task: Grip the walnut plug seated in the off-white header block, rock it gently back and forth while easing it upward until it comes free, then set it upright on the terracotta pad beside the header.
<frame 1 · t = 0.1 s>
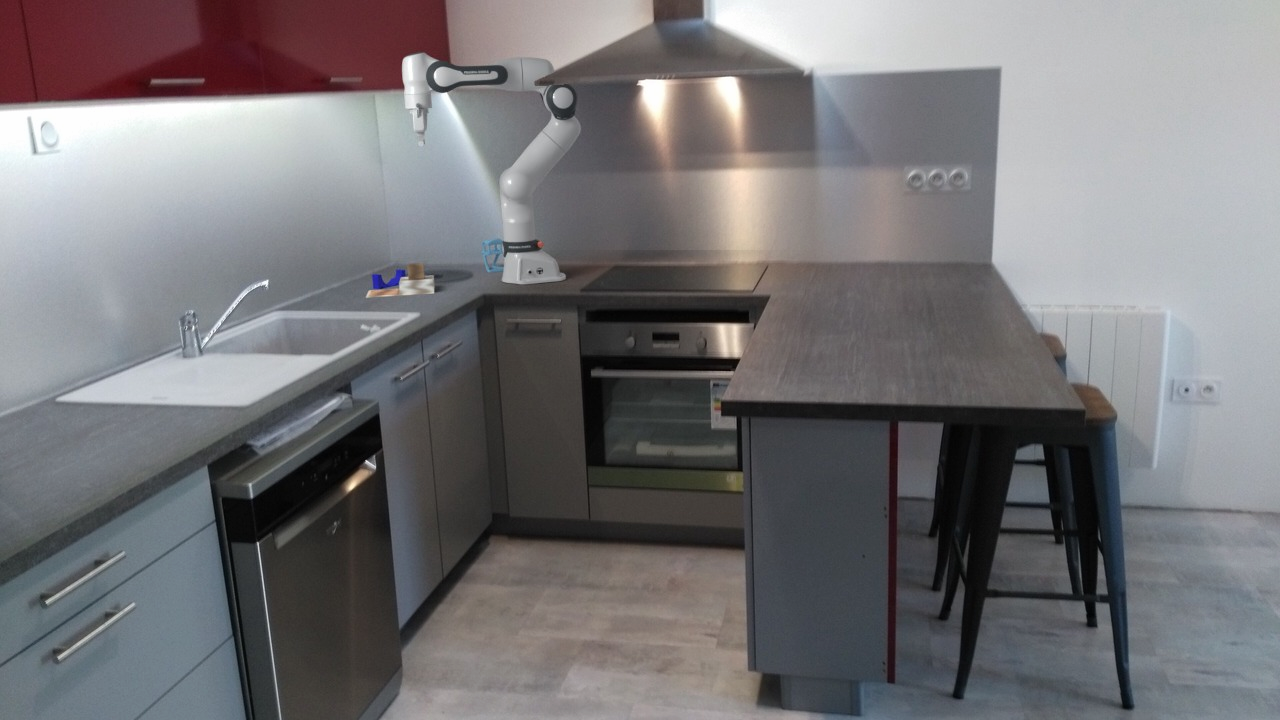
hand: (421, 145, 357), 48 cm above the worktop, fingers open, 8 cm apart
chair: (494, 270, 398), on the worktop
cable clip: (388, 289, 367), on the worktop
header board: (401, 294, 355), on the worktop
plug: (417, 290, 356), point 1 cm above the worktop, touching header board
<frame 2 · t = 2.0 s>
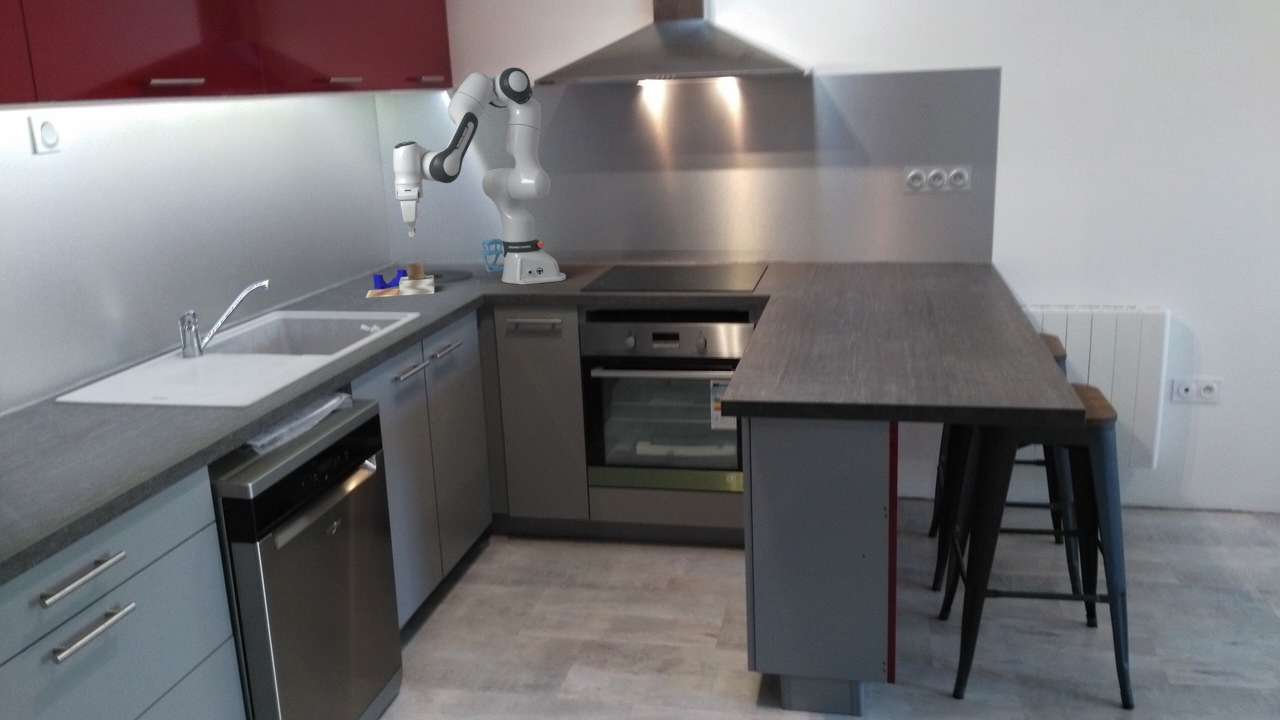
hand: (412, 234, 351), 20 cm above the worktop, fingers open, 8 cm apart
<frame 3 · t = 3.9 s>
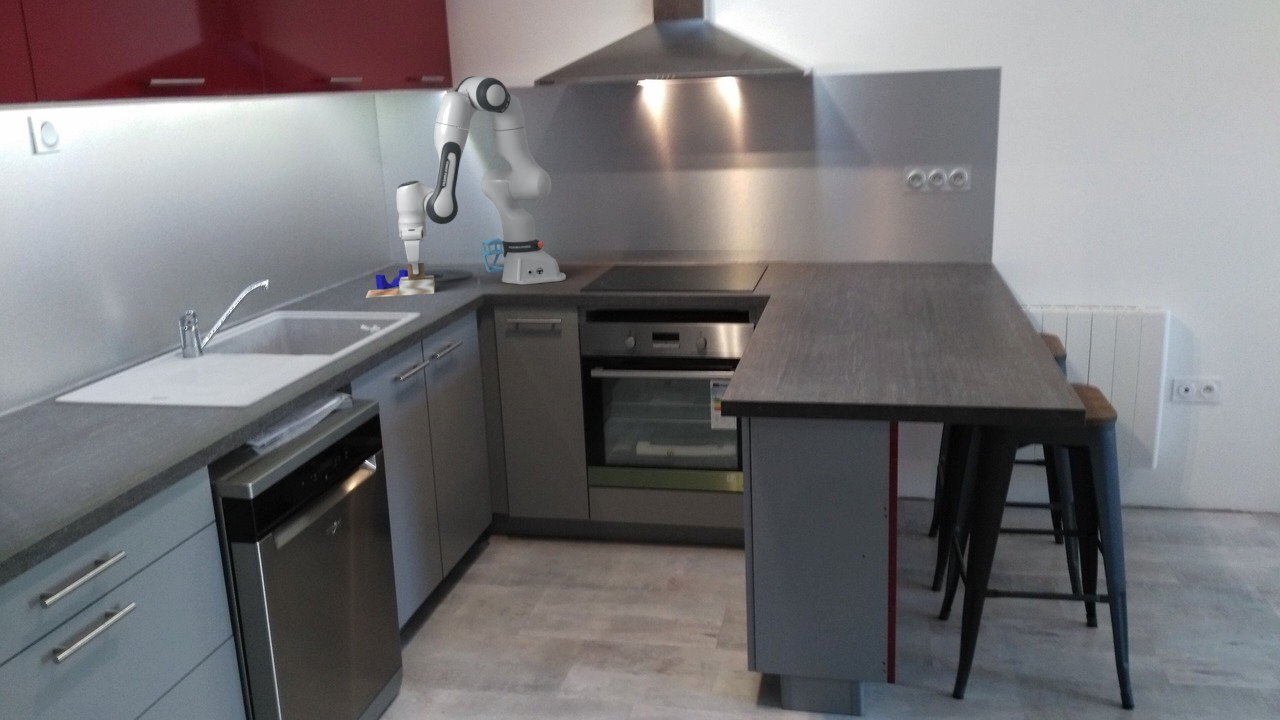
hand: (416, 272, 354), 7 cm above the worktop, fingers closed on plug, 3 cm apart
plug: (417, 290, 356), point 1 cm above the worktop, touching gripper, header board
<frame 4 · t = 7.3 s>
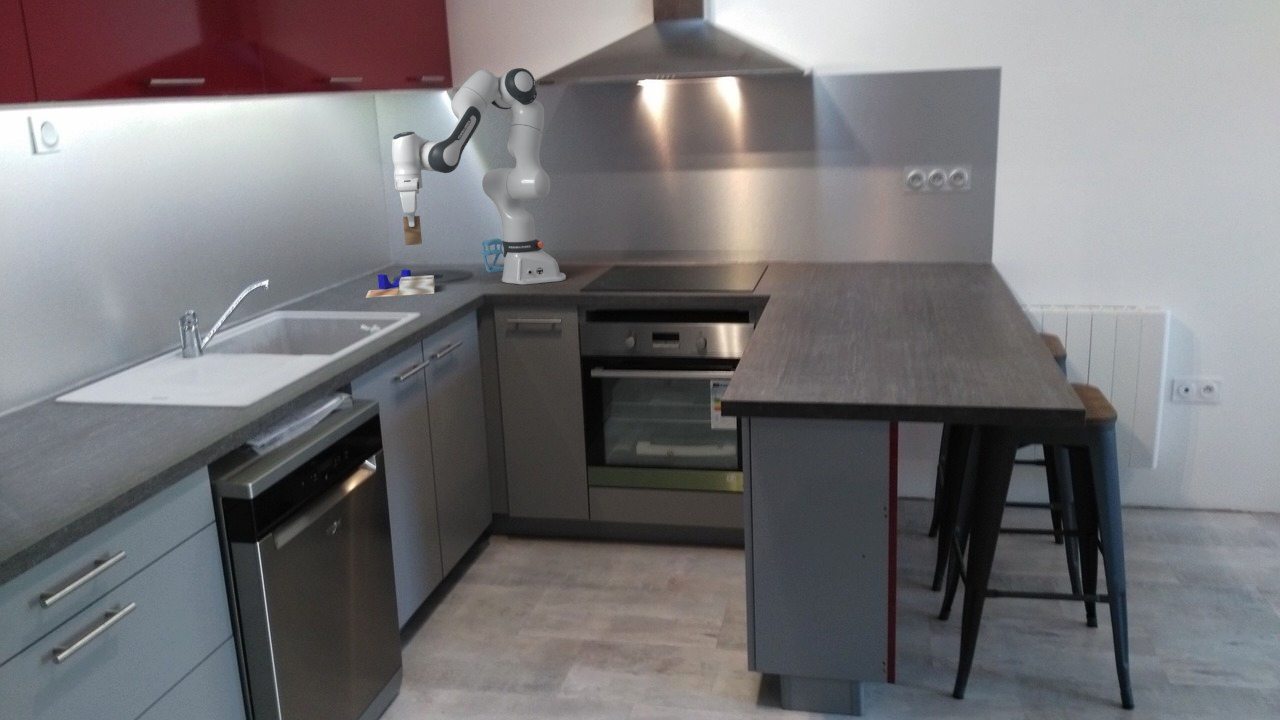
hand: (412, 225, 350), 23 cm above the worktop, fingers closed on plug, 3 cm apart
plug: (413, 244, 352), point 17 cm above the worktop, touching gripper
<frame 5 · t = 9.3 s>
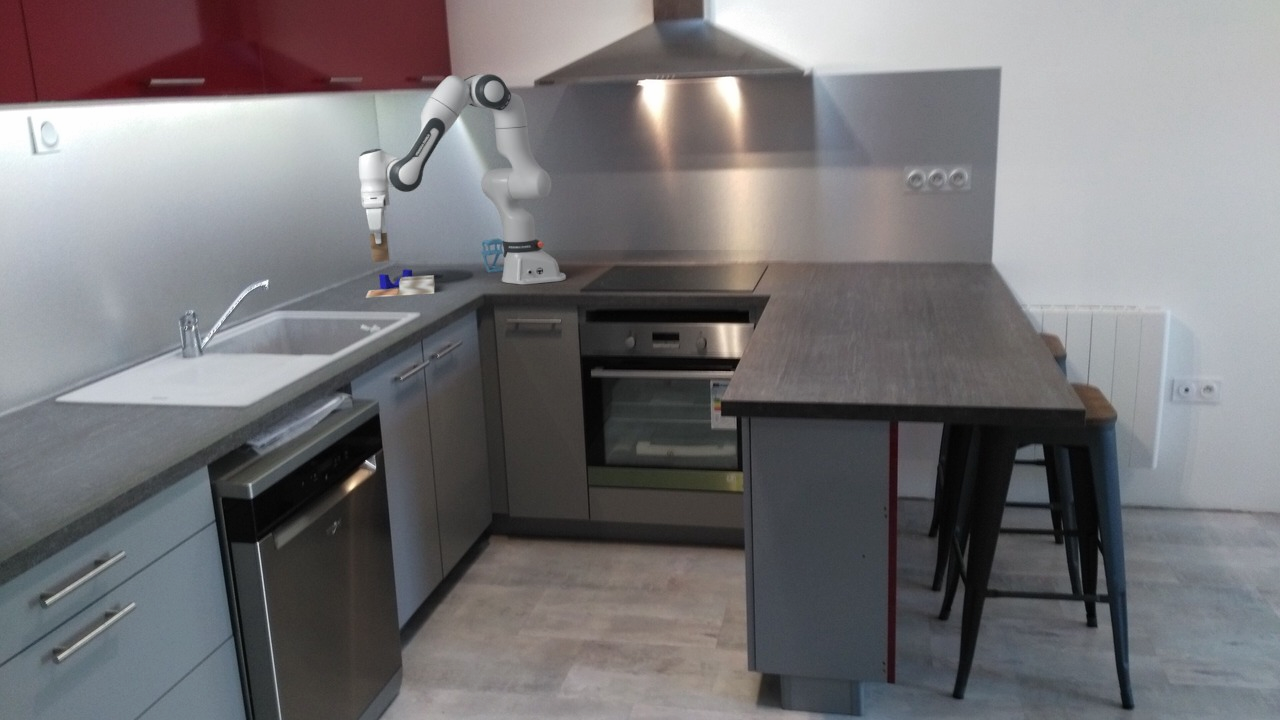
hand: (379, 242, 350), 18 cm above the worktop, fingers closed on plug, 3 cm apart
plug: (380, 260, 351), point 12 cm above the worktop, touching gripper
when the fingers open (9 cm above the worktop, at t = 11.1 s): plug drops 2 cm, resting on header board.
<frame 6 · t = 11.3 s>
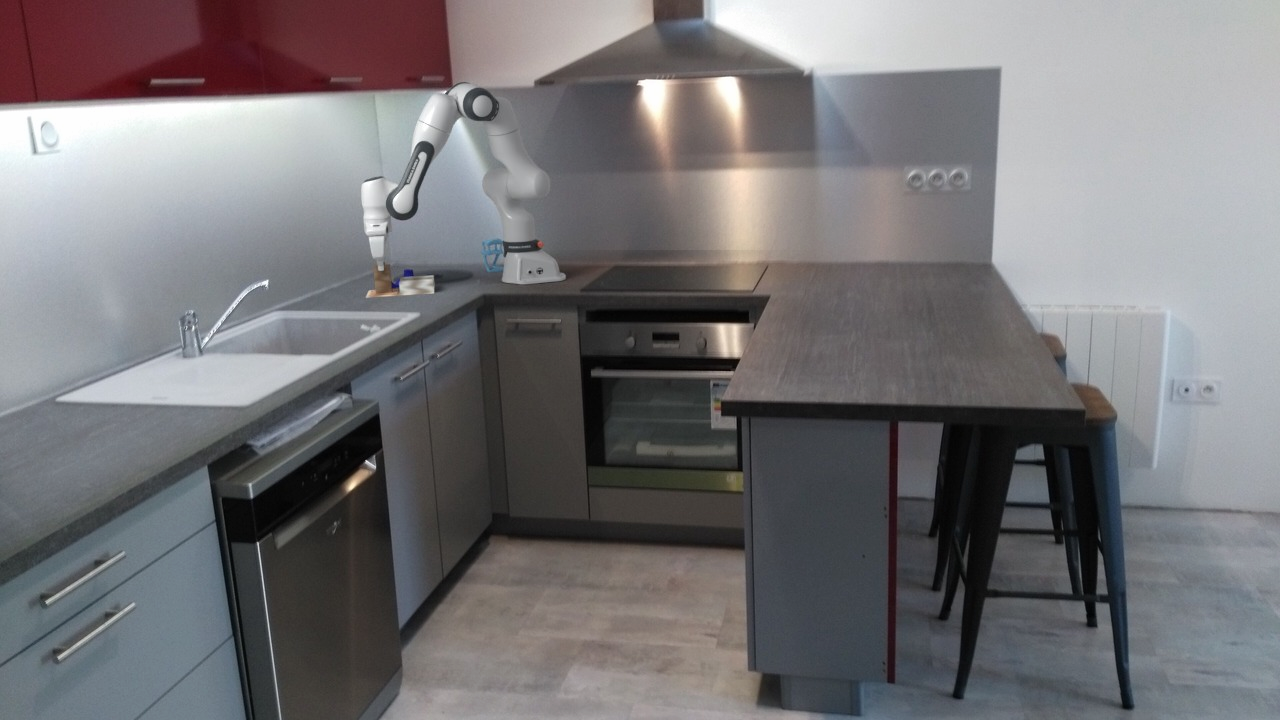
hand: (381, 268, 352), 9 cm above the worktop, fingers open, 5 cm apart
plug: (384, 292, 354), point 1 cm above the worktop, touching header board
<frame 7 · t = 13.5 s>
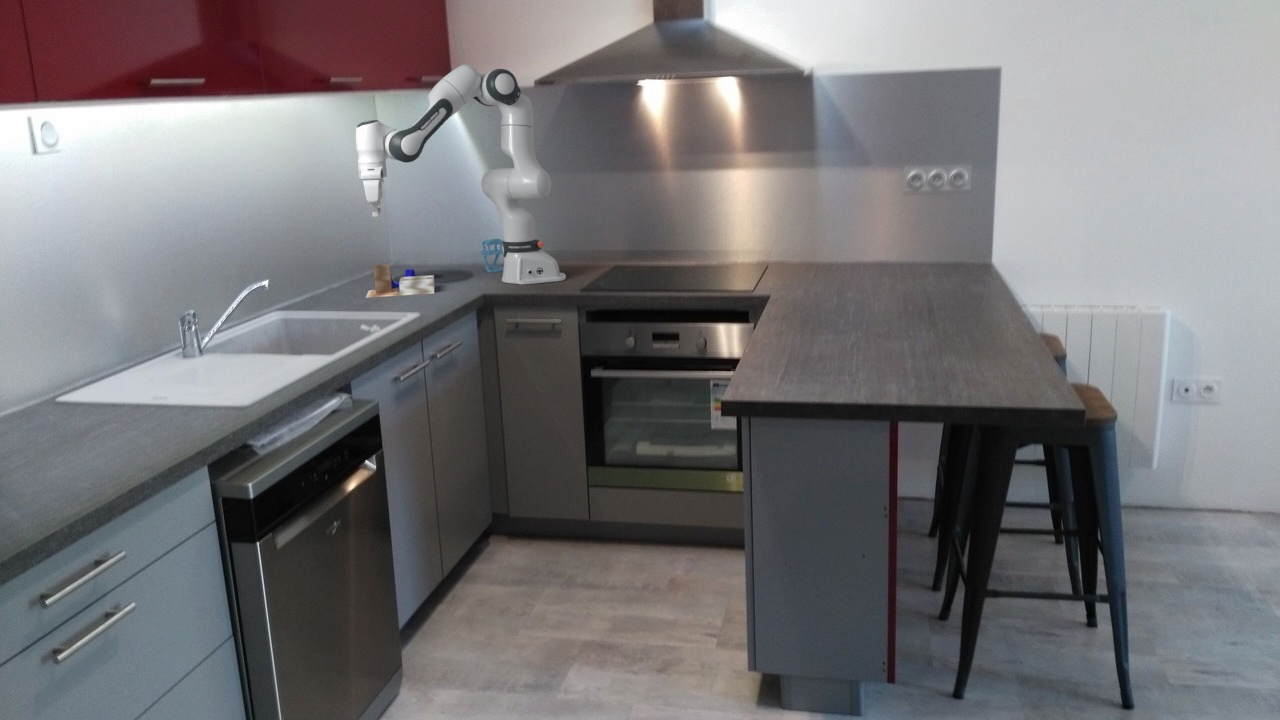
hand: (376, 214, 347), 27 cm above the worktop, fingers open, 8 cm apart
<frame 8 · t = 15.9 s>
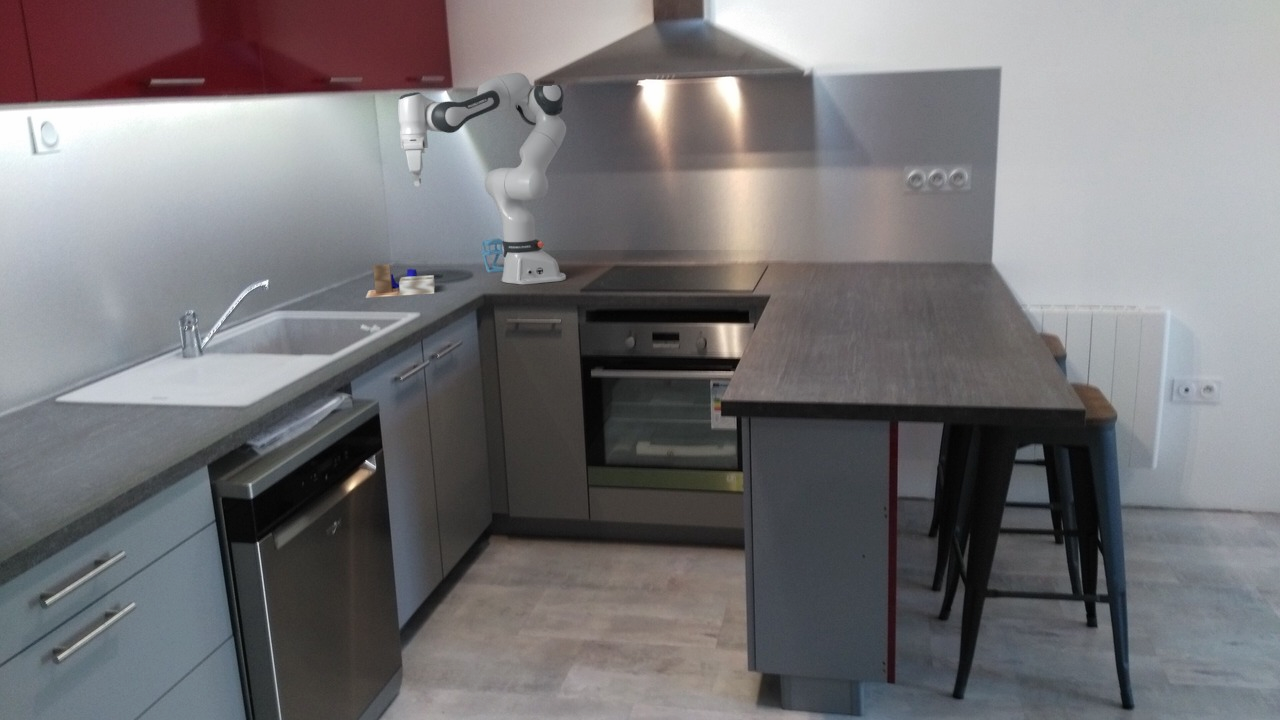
hand: (417, 184, 357), 35 cm above the worktop, fingers open, 8 cm apart
at the end: plug inside the target area on the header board (0.0 cm from its centre), point 1.2 cm above the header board's base; plug tilted 0°; the gripper is holding nothing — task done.
